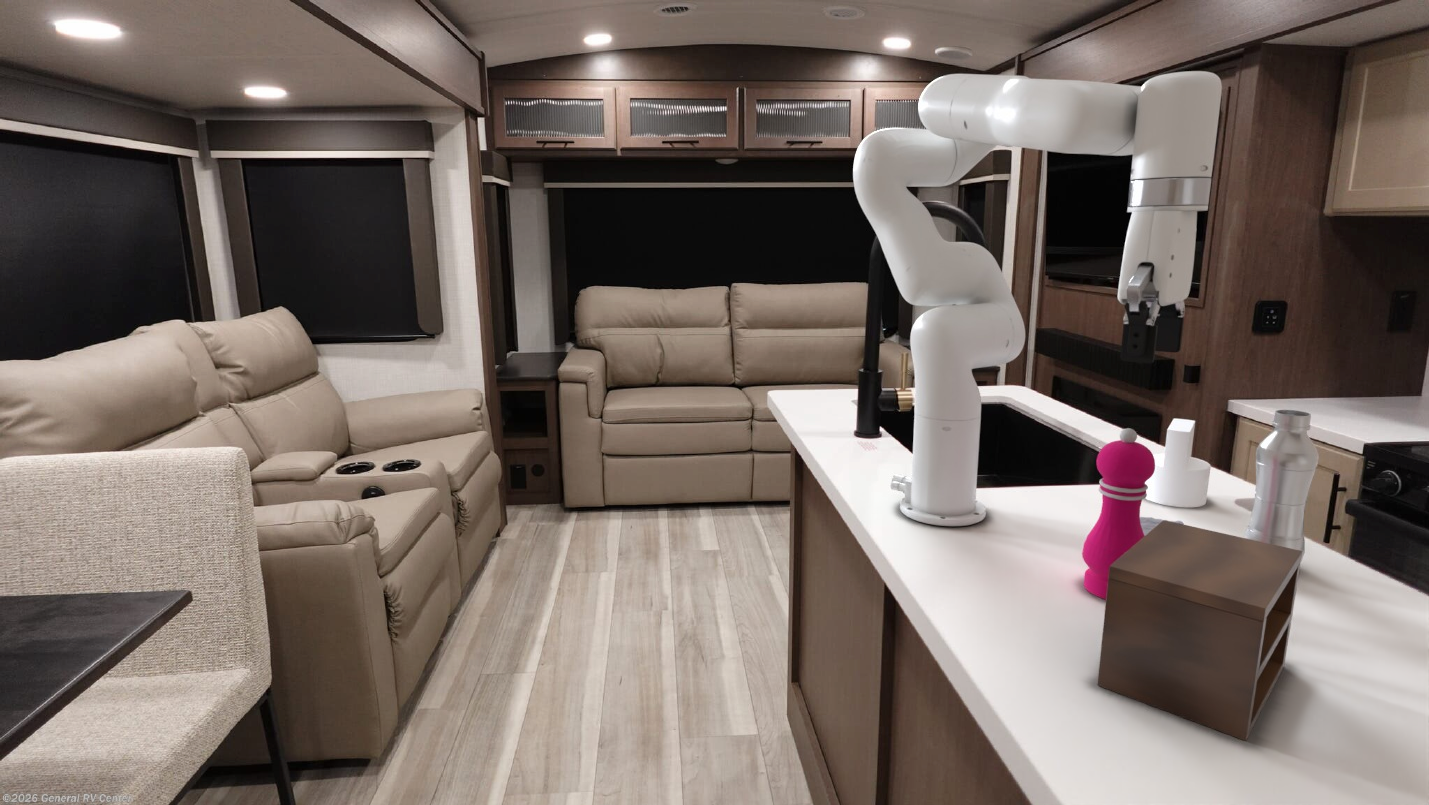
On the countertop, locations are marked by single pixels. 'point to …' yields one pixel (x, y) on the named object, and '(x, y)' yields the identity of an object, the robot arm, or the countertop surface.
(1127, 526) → the pepper mill
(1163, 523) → the shelf
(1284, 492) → the silver metal bottle
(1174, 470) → the base with upright slab
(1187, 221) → the robot arm
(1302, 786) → the countertop surface
